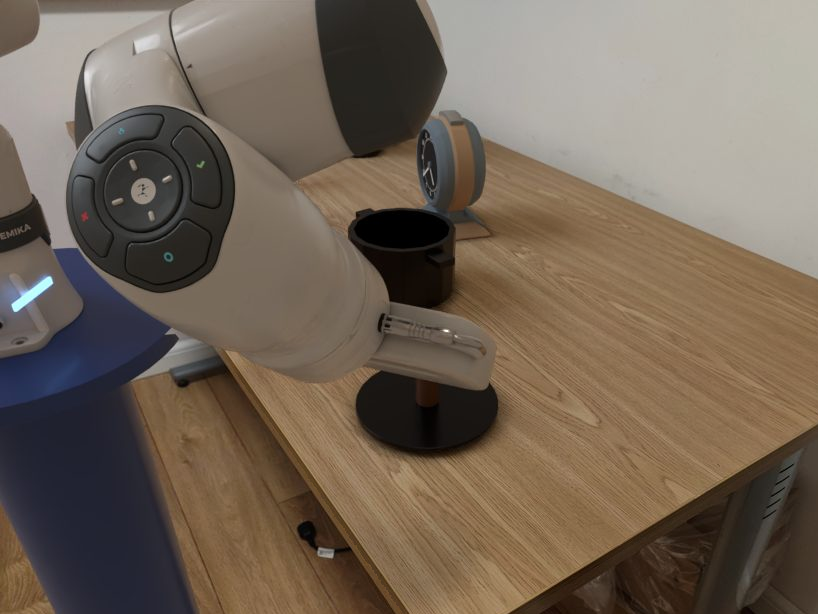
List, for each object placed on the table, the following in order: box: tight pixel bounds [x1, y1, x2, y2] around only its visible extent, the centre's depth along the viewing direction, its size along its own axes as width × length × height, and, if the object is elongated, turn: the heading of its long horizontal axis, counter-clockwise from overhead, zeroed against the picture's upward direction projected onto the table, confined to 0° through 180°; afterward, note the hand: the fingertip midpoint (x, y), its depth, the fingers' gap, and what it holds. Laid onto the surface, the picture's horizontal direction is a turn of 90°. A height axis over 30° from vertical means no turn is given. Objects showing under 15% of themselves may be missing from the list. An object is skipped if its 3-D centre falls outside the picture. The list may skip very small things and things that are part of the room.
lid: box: [354, 370, 500, 453], centre depth 68 cm, size 15×15×8 cm
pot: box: [347, 207, 457, 309], centre depth 89 cm, size 14×19×8 cm
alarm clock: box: [415, 109, 492, 241], centre depth 105 cm, size 14×10×18 cm
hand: (382, 355), depth 54 cm, fingers open, 8 cm apart
